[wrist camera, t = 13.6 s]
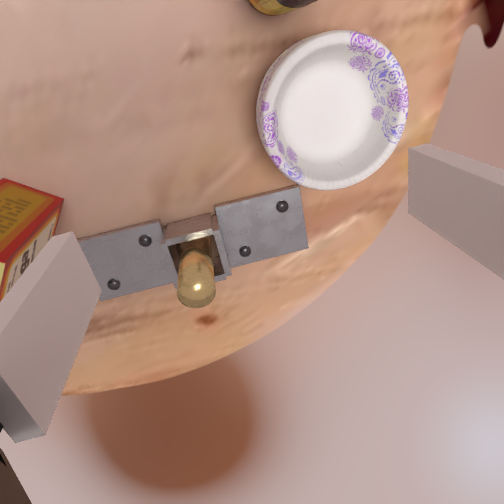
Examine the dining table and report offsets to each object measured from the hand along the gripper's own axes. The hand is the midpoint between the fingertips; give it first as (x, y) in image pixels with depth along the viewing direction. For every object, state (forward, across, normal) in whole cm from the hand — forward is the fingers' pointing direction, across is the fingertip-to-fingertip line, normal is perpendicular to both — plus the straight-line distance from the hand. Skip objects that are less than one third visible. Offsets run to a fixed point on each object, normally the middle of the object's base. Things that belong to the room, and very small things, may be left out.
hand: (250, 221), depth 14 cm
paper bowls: (+32, +12, -2) cm, 34 cm away
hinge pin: (+32, -6, -15) cm, 36 cm away
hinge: (+32, -6, -15) cm, 36 cm away
